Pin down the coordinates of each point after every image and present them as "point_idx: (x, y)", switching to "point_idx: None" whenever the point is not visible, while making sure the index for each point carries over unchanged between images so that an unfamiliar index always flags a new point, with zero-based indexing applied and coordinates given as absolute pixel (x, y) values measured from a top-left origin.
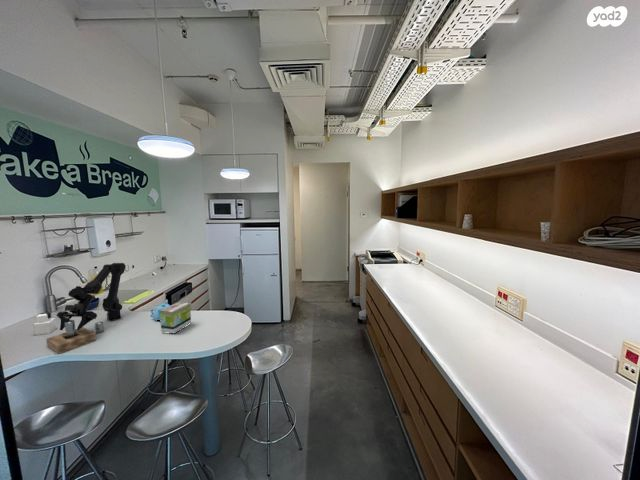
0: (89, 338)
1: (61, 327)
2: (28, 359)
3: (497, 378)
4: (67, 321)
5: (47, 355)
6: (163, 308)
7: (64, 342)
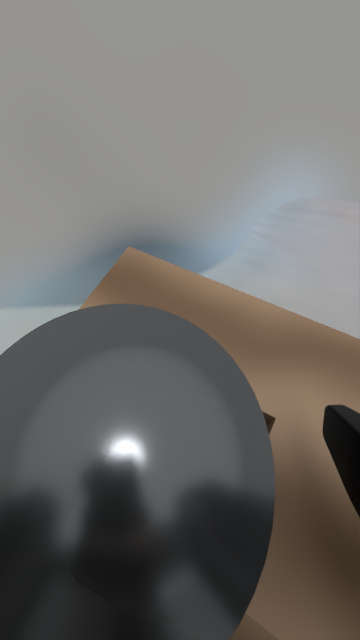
0: None
1: (353, 431)
2: (280, 232)
3: None
4: (214, 484)
5: (206, 272)
6: None
7: (120, 298)
